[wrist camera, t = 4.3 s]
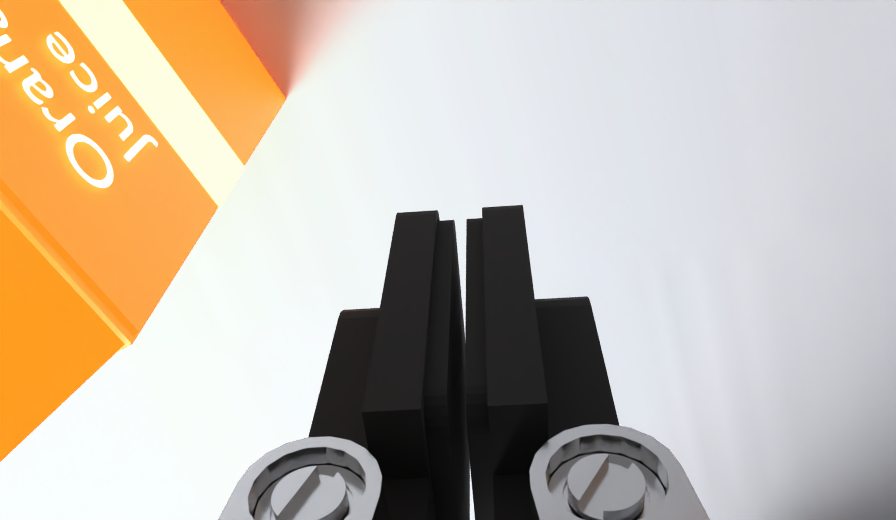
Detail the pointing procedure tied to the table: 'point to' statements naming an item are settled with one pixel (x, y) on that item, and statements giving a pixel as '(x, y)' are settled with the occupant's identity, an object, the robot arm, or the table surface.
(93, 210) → the orange juice
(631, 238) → the table surface
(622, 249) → the table surface
